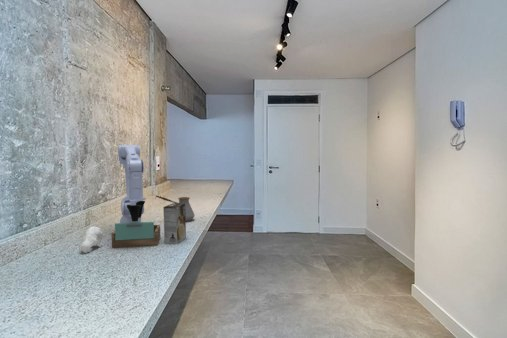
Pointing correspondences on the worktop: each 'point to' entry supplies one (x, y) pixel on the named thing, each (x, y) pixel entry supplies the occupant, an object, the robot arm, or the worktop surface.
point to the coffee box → (174, 223)
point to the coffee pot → (188, 209)
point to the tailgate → (134, 230)
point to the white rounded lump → (91, 239)
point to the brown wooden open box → (137, 240)
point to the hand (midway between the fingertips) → (136, 219)
